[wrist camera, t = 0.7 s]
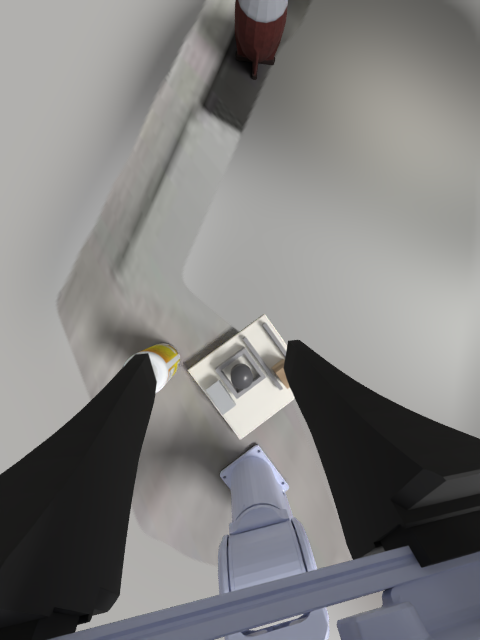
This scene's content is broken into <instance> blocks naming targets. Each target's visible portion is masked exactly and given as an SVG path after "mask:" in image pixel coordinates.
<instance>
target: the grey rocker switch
mask: <svg viewBox="0 0 480 640" xmlns="http://www.w3.org/2000/svg"><path fill="white" fill-rule="evenodd" d="M206 392H207V393H208V395H209V396H210V398H211V399H212V401H213V402H214V404H215V405H216V407H217V408H218V410H219V411H220V413H221V414H222V415H224V414H225V413H226V412H228V411H229V410H230V409H232V408H233V407H234V406H236V403H235V401H234V400H233V399H232V397H231V396H230V394H229V393H228V391H227V390H226V388H225V387H224V386H223V384H222V383H221V381H220V380H218V381H217V382H215V383H214V384H213V385H211V386H210V387H208V388H207V389H206Z"/></svg>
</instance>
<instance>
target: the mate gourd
mask: <svg viewBox="0 0 480 640" xmlns="http://www.w3.org/2000/svg"><path fill="white" fill-rule="evenodd" d="M287 4H288V0H236V2H235V38H236V44H237V51H236V60H241V61H247V62H252V79H254V80H256V79H257V68H258V63H261V64H268V65H274V62H275V57H274V56H275V53H276V51H277V48H278V46H279V43H280V41H281V37H282V33H283V30H284V27H285V22H286V15H287Z"/></svg>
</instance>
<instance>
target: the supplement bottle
mask: <svg viewBox="0 0 480 640" xmlns="http://www.w3.org/2000/svg"><path fill="white" fill-rule="evenodd" d="M144 353H148V354H149V357H150V360H151V364H152V367H153V371H154V374H155V377H156V381H157V385H156V392H155V393H157V392H158V391H160V390H161V389H162V388H163V387H164V386H165V384H166V383H167V382H168V381H169V380H170V379H171V377H172V376H173V375H174V374H175V373H176V371H177V370H178V368H179V366H180V355H179V353H178V351H177V350H176V349H175V348H174V347H173V346H172V345H169V344H165V343H161V344H156V345H154V346H152V347H149V348H147V349H145V350H143V351H140V352H138V353H136V354H144ZM134 355H135V354H134ZM134 355H132V356H131V357H130V358H128V359H127V361H126V362H125V364H124V365H123V367H124V366H125V365H126V364H127V363H128V361H129V360H130V359H131V358H132V357H133V356H134Z"/></svg>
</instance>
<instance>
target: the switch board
mask: <svg viewBox="0 0 480 640" xmlns="http://www.w3.org/2000/svg"><path fill="white" fill-rule="evenodd" d="M286 351H287V345H286V343H285V342H284V340H283V339H282V338H281V336H280V335H279V333H278V332H277V331H276V329H275V328H274V326H273V325H272V324H271V322H270V321H269V319H268V318H267V316H266V315H264V314H263V315H262V316H260V317H259V318H258V319H256V320H255V321H254V322H252V323H251V324H250V325H248V326H247V327H245V328H244V329H243V330H241V331H240V332H239V333H237V334H236V335H234V336H233V337H232V338H230V339H229V340H228V341H226V342H225V343H223V344H222V345H221V346H219V347H218V348H217V349H215V350H214V351H212V352H211V353H210V354H208V355H207V356H206V357H204V358H203V359H202V360H200V361H199V362H197V363H196V364H195V365H193V366H192V367H191V368H189V370H188V371H189V373H190V374H191V375H192V377H193V378H194V379H195V381H196V382H197V383H198V385H199V386H200V387H201V389H202V390H203V391H204V392H205V394H206V395H207V396H208V398H209V399H210V400H211V402H212V403H213V404H214V402H213V401H212V399H211V398H210V396H209V395H208V393H207V392H206V389H207V388H208V387H210V386H211V385H213V384H214V383H215V382H217V381H218V380H220V381H221V383H222V384H223V386H224V387H225V388H226V390H227V391H228V393H229V394H230V396H231V397H232V399H233V400H234V401H235V403H236V406H234V407H233V408H232V409H230V410H229V411H228V412H226V413H225V414H224V415H222V414H221V413H220V414H221V415H222V416H223V418H224V419H225V420H226V422H227V423H228V424H229V426H230V427H231V428H232V429H233V431H234V432H235V433H236V435H237V436H238V437H239V439H240V440H241V439H242V438H243V437H245V436H246V435H247V434H249V433H250V432H251V431H253V430H254V429H255V428H257V427H258V426H259V425H261V424H262V423H263V422H264V421H266V420H267V419H268V418H270V417H271V416H272V415H274V414H275V413H276V412H278V411H279V410H280V409H282V408H283V407H284V406H286V405H287V404H288V403H289V402H291V401H292V400H293V399H295V397H294V395H293V393H292V391H291V389H290V388H288V389H287V388H286V387H285V386H284V384H283V383H282V382H281V381H280V379H279V378H278V376H277V375H276V374H275V372H274V371H273V370H272V368H271V367H273V366H274V365H275V364H277V363H278V362H279V361H281V360H282V359H284V360H285V356H286ZM240 363H243V364H246V365H247V366H249V368H250V369H251V371H252V374H253V382H252V384H251V385H250V386H249V387H248V388H246V389H238V388H236V387H235V386H234V385H233V384H232V382H231V370H232V368H233V367H234V366H235V365H237V364H240ZM214 406H215V407H216V405H215V404H214ZM216 408H217V407H216ZM217 410H218V408H217ZM218 411H219V410H218ZM219 412H220V411H219Z"/></svg>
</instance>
